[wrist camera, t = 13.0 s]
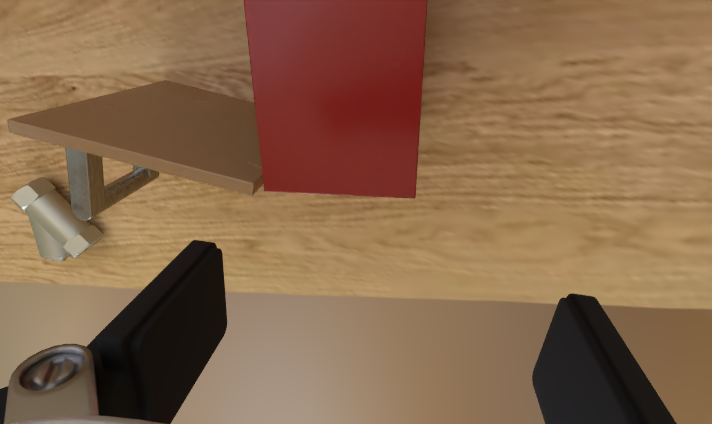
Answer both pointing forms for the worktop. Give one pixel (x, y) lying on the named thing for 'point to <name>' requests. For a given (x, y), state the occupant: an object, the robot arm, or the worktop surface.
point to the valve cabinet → (338, 94)
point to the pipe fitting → (54, 221)
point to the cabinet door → (150, 141)
